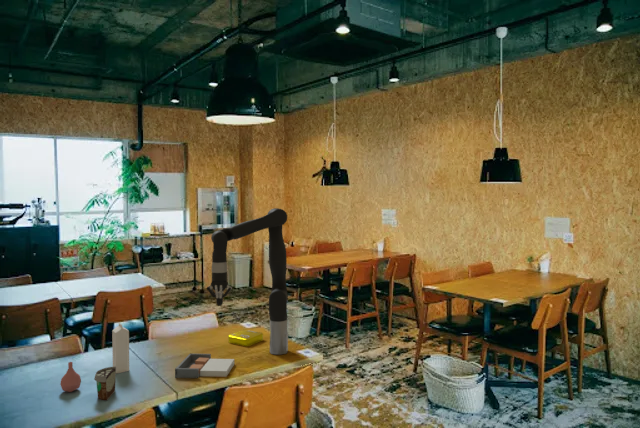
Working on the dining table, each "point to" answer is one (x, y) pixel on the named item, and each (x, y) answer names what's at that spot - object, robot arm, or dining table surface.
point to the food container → (105, 382)
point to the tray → (184, 367)
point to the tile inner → (201, 361)
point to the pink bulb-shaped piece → (70, 379)
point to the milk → (120, 348)
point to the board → (217, 367)
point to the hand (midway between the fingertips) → (219, 305)
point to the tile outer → (197, 366)
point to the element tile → (245, 338)
